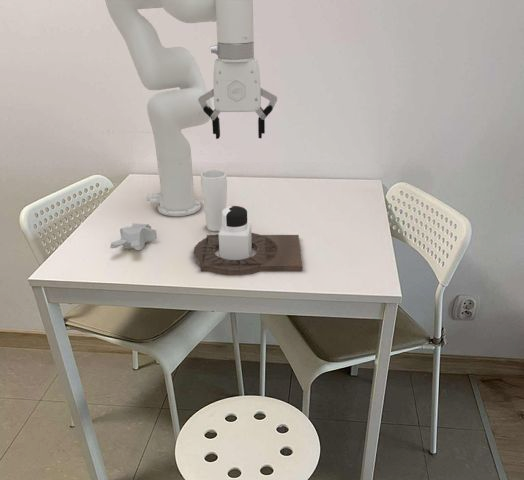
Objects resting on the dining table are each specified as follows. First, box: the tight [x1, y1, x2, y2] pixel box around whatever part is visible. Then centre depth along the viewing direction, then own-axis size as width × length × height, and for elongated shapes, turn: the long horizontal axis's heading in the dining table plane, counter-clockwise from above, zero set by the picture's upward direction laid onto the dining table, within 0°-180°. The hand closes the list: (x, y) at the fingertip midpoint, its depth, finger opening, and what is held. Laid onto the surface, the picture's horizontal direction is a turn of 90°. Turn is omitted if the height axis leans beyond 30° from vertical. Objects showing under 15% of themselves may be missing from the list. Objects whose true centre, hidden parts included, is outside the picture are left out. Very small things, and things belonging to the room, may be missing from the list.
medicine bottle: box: [218, 205, 253, 260], centre depth 130 cm, size 7×7×12 cm
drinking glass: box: [200, 169, 228, 232], centre depth 142 cm, size 7×7×15 cm
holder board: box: [192, 232, 303, 276], centre depth 134 cm, size 26×21×2 cm
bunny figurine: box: [109, 222, 157, 251], centre depth 137 cm, size 10×5×15 cm
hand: (239, 137), depth 122 cm, fingers open, 9 cm apart
